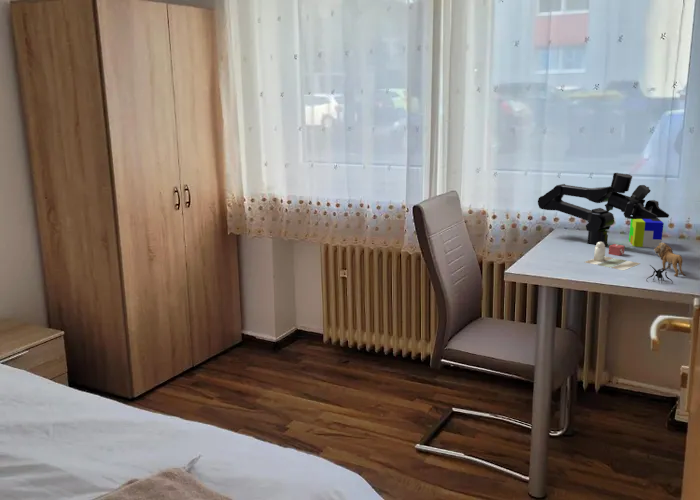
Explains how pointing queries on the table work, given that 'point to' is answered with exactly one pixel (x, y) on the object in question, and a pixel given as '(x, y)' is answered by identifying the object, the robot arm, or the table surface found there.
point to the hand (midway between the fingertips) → (662, 216)
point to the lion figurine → (669, 258)
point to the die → (616, 249)
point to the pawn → (599, 252)
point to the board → (614, 263)
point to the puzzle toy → (646, 232)
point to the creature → (659, 274)
